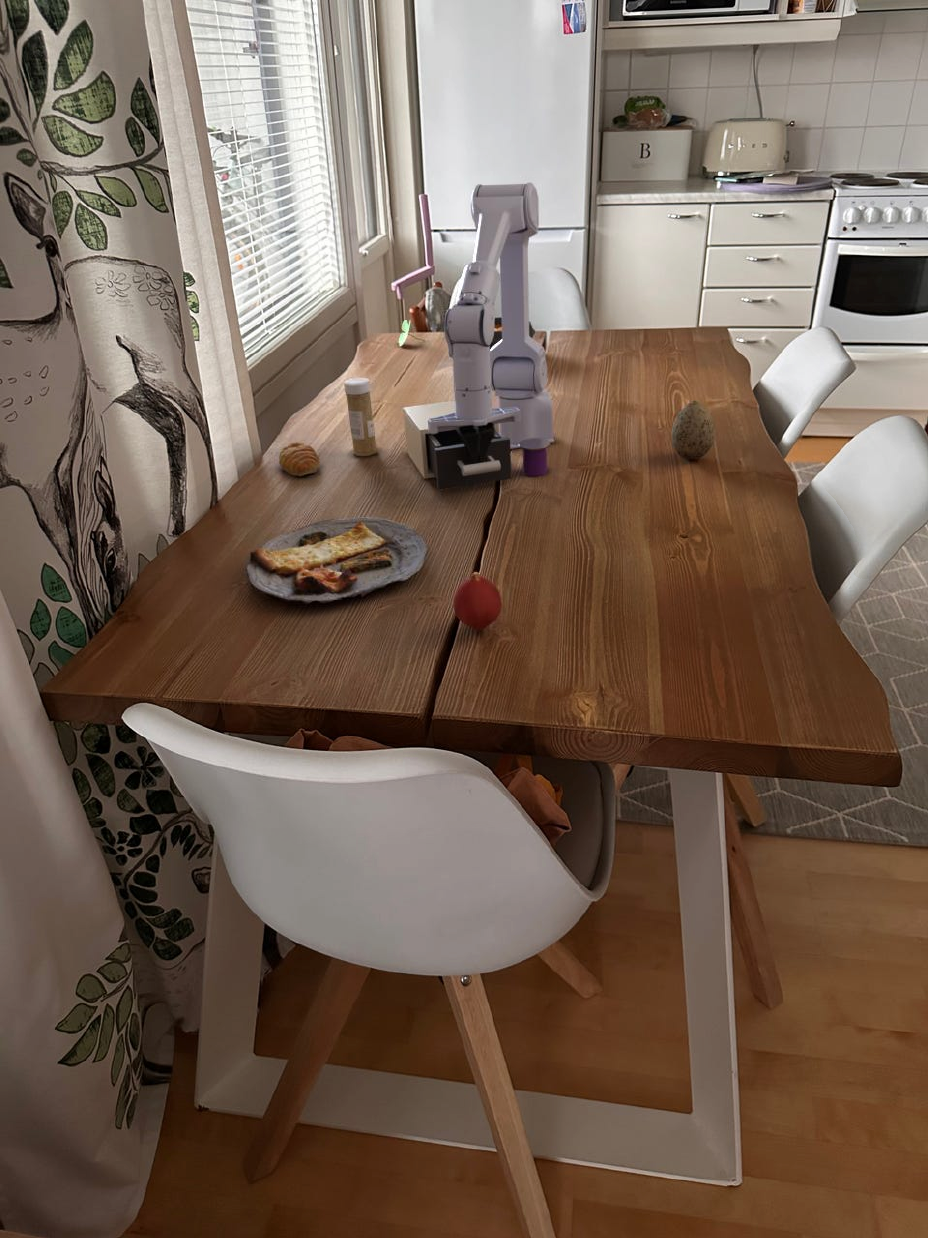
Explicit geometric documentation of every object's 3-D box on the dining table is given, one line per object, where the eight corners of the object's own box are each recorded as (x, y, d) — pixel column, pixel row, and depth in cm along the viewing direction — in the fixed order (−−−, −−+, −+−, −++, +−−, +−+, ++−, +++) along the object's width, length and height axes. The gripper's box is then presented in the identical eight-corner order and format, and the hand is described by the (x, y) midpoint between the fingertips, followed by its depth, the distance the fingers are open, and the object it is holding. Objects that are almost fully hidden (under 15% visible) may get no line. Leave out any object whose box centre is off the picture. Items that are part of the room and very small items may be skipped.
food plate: (277, 630, 116) (272, 605, 114) (228, 561, 134) (224, 539, 132) (454, 578, 125) (452, 554, 124) (386, 520, 143) (384, 499, 142)
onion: (453, 620, 116) (449, 562, 112) (499, 615, 116) (497, 558, 112) (457, 644, 110) (453, 585, 106) (505, 639, 111) (502, 580, 107)
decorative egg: (661, 460, 158) (664, 403, 153) (684, 448, 163) (687, 392, 158) (698, 468, 154) (703, 410, 149) (720, 456, 158) (725, 398, 154)
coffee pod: (544, 464, 160) (543, 436, 158) (554, 474, 156) (554, 445, 153) (515, 469, 159) (514, 440, 157) (525, 479, 155) (524, 450, 152)
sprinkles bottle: (381, 453, 170) (374, 380, 164) (360, 459, 168) (351, 385, 161) (370, 446, 174) (361, 375, 167) (348, 452, 172) (339, 380, 165)
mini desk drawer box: (500, 466, 160) (498, 418, 156) (424, 478, 158) (420, 430, 153) (478, 442, 172) (476, 397, 168) (407, 453, 169) (403, 407, 165)
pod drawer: (520, 488, 149) (519, 448, 146) (446, 501, 146) (443, 460, 143) (489, 454, 163) (488, 417, 160) (421, 465, 161) (418, 427, 158)
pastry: (328, 473, 163) (325, 452, 161) (291, 481, 160) (287, 460, 159) (312, 457, 170) (309, 437, 168) (276, 465, 168) (273, 445, 166)
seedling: (416, 361, 243) (394, 351, 240) (419, 337, 247) (398, 326, 243) (429, 347, 238) (407, 337, 235) (433, 323, 241) (411, 312, 238)
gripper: (432, 398, 137) (439, 485, 144) (525, 386, 140) (527, 472, 147) (422, 387, 143) (428, 470, 150) (511, 375, 146) (514, 458, 153)
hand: (476, 470), depth 148 cm, fingers closed, pressing on pod drawer
